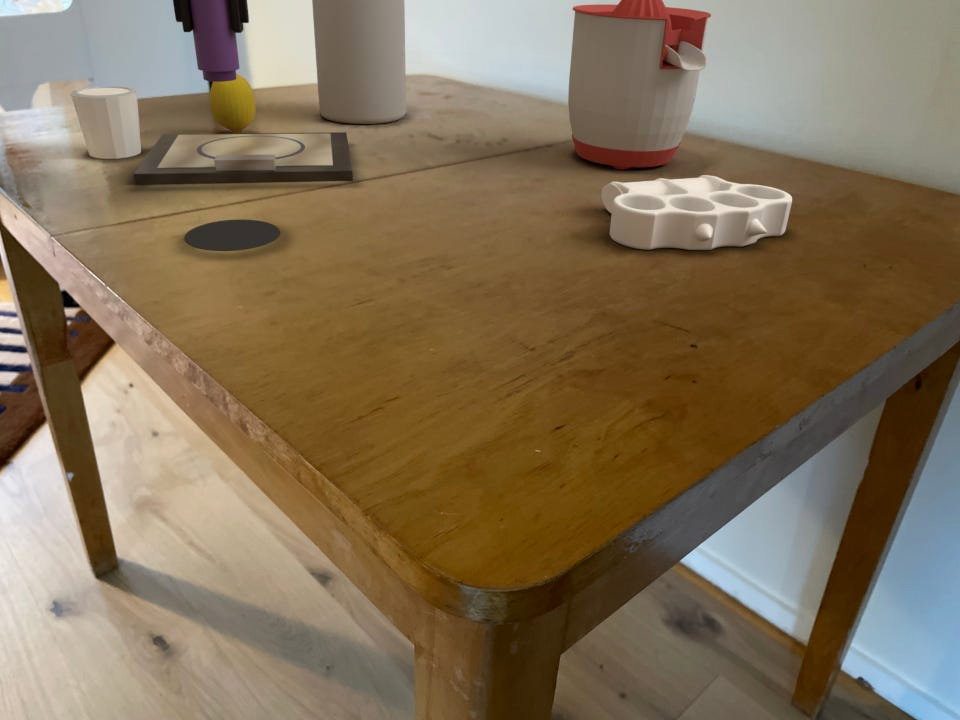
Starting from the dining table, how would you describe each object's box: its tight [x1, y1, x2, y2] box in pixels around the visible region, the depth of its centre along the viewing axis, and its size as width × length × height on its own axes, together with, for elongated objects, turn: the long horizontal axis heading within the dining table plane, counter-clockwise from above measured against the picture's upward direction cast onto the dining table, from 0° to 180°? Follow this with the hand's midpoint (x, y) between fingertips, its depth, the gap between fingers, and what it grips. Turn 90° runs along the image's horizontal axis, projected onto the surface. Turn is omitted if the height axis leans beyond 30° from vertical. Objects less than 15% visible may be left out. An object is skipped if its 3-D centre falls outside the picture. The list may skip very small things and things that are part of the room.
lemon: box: [209, 73, 256, 133], centre depth 100 cm, size 6×6×8 cm
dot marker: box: [189, 0, 240, 83], centre depth 76 cm, size 4×4×10 cm
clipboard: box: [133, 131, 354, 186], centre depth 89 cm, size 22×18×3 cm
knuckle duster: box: [600, 174, 793, 251], centre depth 74 cm, size 3×18×15 cm
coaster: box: [183, 219, 281, 252], centre depth 68 cm, size 8×8×1 cm
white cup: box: [70, 86, 142, 160], centre depth 90 cm, size 7×7×7 cm
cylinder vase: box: [311, 0, 407, 125], centre depth 108 cm, size 12×12×25 cm
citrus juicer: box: [567, 0, 712, 170], centre depth 92 cm, size 16×17×20 cm
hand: (214, 28), depth 77 cm, fingers closed on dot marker, 4 cm apart
